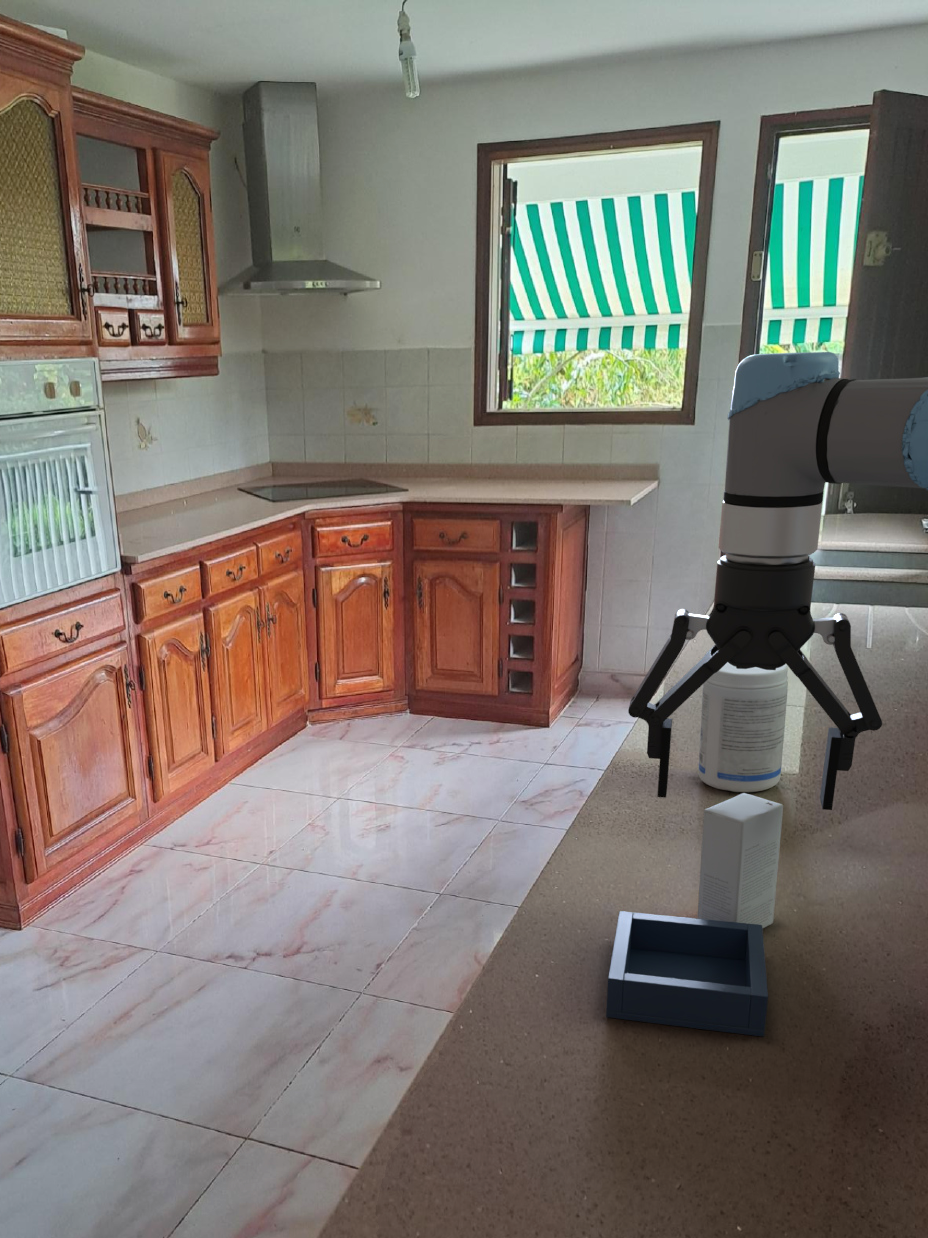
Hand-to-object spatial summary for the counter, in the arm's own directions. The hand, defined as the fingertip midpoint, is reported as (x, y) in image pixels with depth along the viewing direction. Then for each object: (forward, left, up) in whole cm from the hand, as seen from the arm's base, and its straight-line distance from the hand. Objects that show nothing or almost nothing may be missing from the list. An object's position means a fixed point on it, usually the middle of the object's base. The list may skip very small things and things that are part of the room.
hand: (742, 798), depth 98 cm
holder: (+4, +12, -13) cm, 18 cm away
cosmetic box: (0, 0, -13) cm, 13 cm away
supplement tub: (-1, -39, -13) cm, 41 cm away
